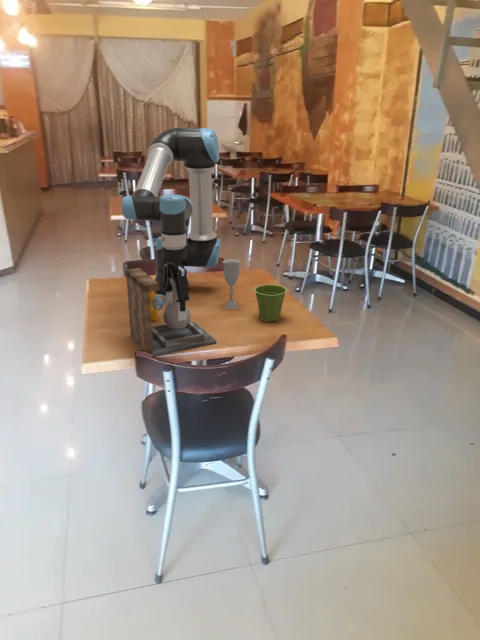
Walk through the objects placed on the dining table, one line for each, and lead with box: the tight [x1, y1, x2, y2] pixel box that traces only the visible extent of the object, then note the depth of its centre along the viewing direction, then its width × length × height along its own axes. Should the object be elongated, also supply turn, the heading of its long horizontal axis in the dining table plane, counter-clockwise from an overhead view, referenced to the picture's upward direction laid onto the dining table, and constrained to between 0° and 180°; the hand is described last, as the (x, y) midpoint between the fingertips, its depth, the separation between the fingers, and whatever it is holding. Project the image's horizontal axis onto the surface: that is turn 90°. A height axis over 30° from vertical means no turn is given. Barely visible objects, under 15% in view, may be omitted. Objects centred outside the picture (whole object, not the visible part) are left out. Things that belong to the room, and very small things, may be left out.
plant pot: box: [253, 284, 288, 322], centre depth 182 cm, size 12×12×11 cm
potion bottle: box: [162, 274, 191, 329], centre depth 161 cm, size 9×9×18 cm
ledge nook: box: [125, 267, 217, 357], centre depth 161 cm, size 18×23×23 cm
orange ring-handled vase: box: [150, 277, 166, 322], centre depth 179 cm, size 12×10×15 cm
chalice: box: [222, 259, 241, 310], centre depth 192 cm, size 7×7×18 cm
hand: (176, 315), depth 163 cm, fingers closed on potion bottle, 9 cm apart
